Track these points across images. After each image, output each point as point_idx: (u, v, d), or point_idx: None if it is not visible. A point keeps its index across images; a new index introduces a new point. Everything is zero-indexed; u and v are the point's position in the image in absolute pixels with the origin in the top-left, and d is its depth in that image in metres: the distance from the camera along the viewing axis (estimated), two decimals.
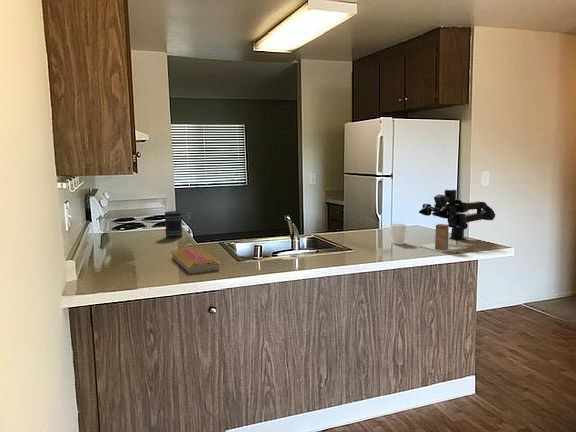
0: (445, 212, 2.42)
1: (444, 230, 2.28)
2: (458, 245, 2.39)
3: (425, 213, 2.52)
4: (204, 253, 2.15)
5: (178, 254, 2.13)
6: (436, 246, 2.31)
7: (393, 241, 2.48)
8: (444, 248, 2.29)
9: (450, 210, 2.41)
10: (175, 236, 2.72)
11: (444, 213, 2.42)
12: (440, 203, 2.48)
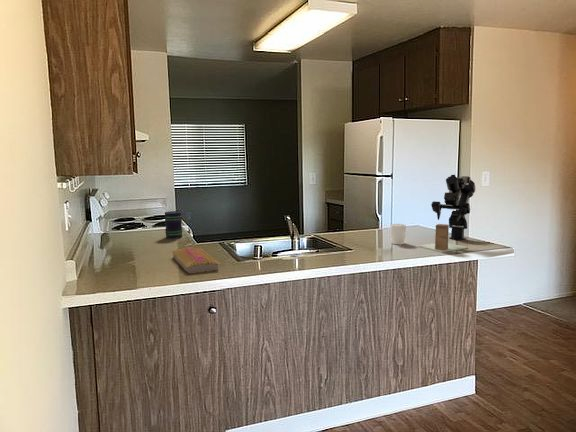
0: (464, 210, 2.37)
1: (444, 230, 2.28)
2: (458, 245, 2.39)
3: (440, 213, 2.45)
4: (204, 253, 2.14)
5: (178, 254, 2.14)
6: (436, 246, 2.31)
7: (393, 241, 2.48)
8: (444, 248, 2.29)
9: (468, 207, 2.36)
10: (175, 236, 2.72)
11: (463, 211, 2.38)
12: (452, 200, 2.40)
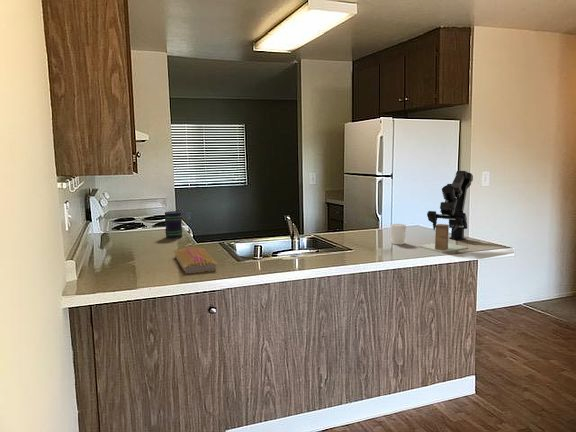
0: (461, 220, 2.32)
1: (444, 230, 2.28)
2: (458, 245, 2.39)
3: (436, 223, 2.39)
4: (205, 253, 2.14)
5: (179, 254, 2.14)
6: (436, 246, 2.31)
7: (393, 241, 2.48)
8: (444, 248, 2.29)
9: (465, 217, 2.31)
10: (175, 236, 2.72)
11: (459, 221, 2.32)
12: (448, 210, 2.34)
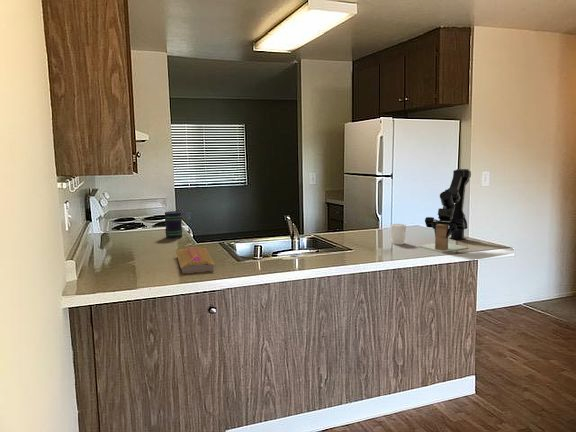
0: (455, 227, 2.30)
1: (444, 230, 2.28)
2: (458, 245, 2.39)
3: None
4: (205, 253, 2.14)
5: (180, 253, 2.15)
6: (436, 246, 2.31)
7: (393, 241, 2.48)
8: (444, 248, 2.29)
9: (463, 223, 2.28)
10: (175, 236, 2.72)
11: (453, 227, 2.31)
12: (446, 216, 2.32)
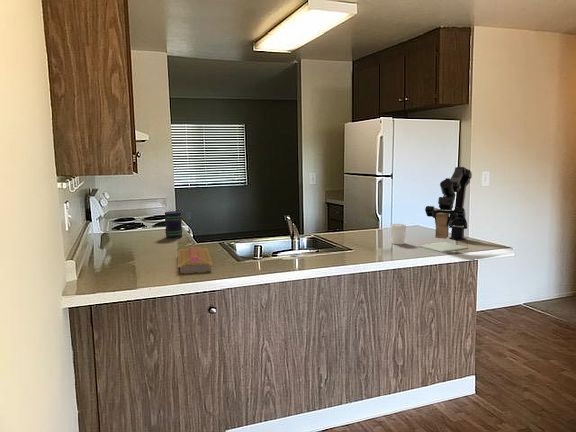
0: (455, 215, 2.29)
1: (444, 219, 2.27)
2: (458, 245, 2.39)
3: None
4: (205, 253, 2.14)
5: (180, 253, 2.15)
6: (436, 235, 2.30)
7: (393, 241, 2.48)
8: (444, 237, 2.28)
9: (463, 212, 2.27)
10: (175, 236, 2.72)
11: (454, 216, 2.30)
12: (446, 205, 2.31)
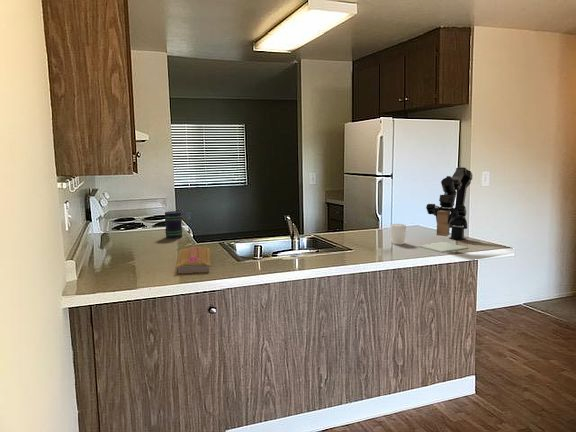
0: (456, 213, 2.31)
1: (445, 216, 2.28)
2: (458, 245, 2.39)
3: None
4: (205, 254, 2.13)
5: (181, 253, 2.15)
6: (437, 232, 2.31)
7: (393, 241, 2.48)
8: (445, 234, 2.29)
9: (464, 209, 2.29)
10: (175, 236, 2.72)
11: (455, 213, 2.31)
12: (447, 202, 2.32)
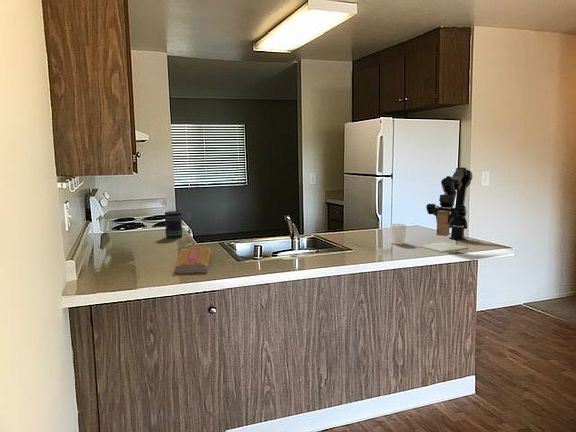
0: (456, 213, 2.31)
1: (445, 216, 2.28)
2: (458, 245, 2.39)
3: None
4: (206, 254, 2.13)
5: (182, 253, 2.16)
6: (437, 232, 2.31)
7: (393, 241, 2.48)
8: (445, 234, 2.29)
9: (464, 209, 2.29)
10: (175, 236, 2.72)
11: (455, 213, 2.31)
12: (447, 202, 2.32)
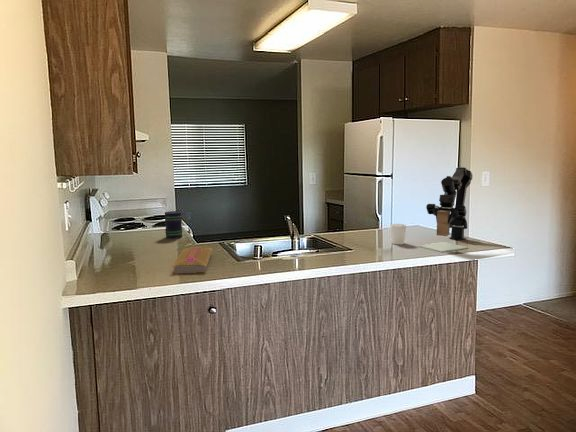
0: (456, 213, 2.31)
1: (445, 216, 2.28)
2: (458, 245, 2.39)
3: None
4: (206, 254, 2.13)
5: (183, 253, 2.16)
6: (437, 232, 2.31)
7: (393, 241, 2.48)
8: (445, 234, 2.29)
9: (464, 209, 2.29)
10: (175, 236, 2.72)
11: (455, 213, 2.31)
12: (447, 202, 2.32)
